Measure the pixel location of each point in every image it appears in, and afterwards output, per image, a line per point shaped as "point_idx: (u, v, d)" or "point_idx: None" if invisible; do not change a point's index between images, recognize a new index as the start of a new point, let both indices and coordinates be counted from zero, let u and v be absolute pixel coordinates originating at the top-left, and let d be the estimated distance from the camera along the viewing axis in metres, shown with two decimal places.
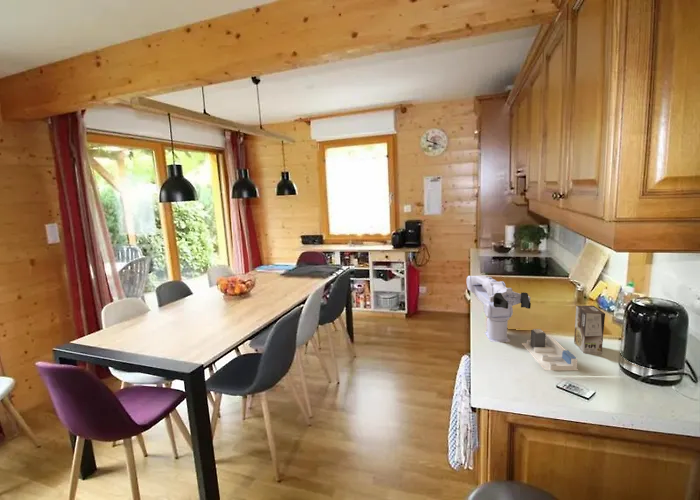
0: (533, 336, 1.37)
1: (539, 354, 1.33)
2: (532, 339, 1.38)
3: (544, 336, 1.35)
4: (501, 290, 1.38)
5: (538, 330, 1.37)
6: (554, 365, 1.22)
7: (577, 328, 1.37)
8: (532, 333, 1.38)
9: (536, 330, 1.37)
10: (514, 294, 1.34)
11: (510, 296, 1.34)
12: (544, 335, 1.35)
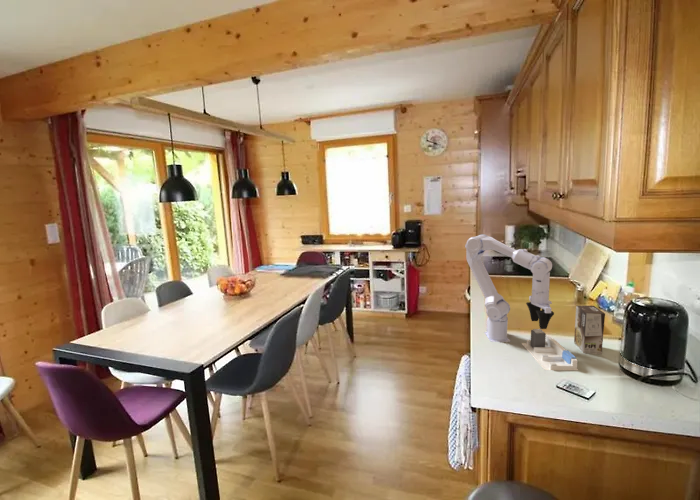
0: (533, 336, 1.37)
1: (539, 354, 1.33)
2: (532, 339, 1.38)
3: (544, 336, 1.35)
4: (548, 296, 1.33)
5: (538, 330, 1.37)
6: (554, 365, 1.22)
7: (577, 328, 1.37)
8: (532, 333, 1.38)
9: (536, 330, 1.37)
10: None
11: None
12: (544, 335, 1.35)
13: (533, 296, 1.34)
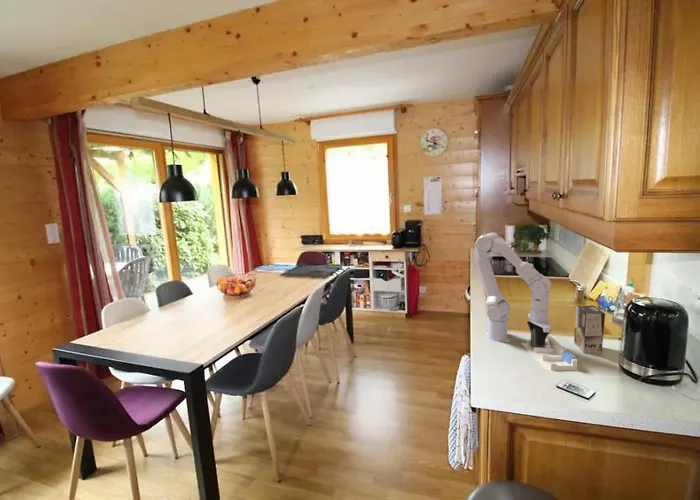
0: (533, 336, 1.37)
1: (539, 354, 1.33)
2: (532, 339, 1.38)
3: None
4: (547, 314, 1.34)
5: None
6: (554, 365, 1.22)
7: (577, 328, 1.37)
8: (532, 333, 1.38)
9: None
10: None
11: None
12: None
13: (532, 314, 1.35)
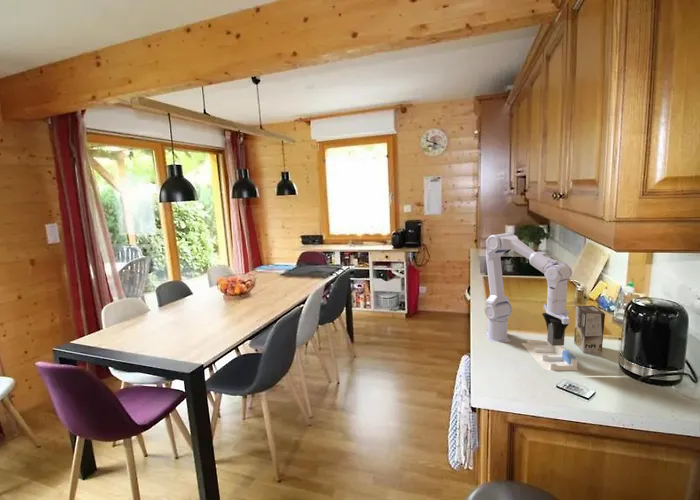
0: (551, 331, 1.24)
1: (539, 354, 1.33)
2: (550, 334, 1.25)
3: None
4: (565, 305, 1.21)
5: None
6: (554, 365, 1.22)
7: (577, 328, 1.37)
8: (550, 327, 1.25)
9: None
10: None
11: None
12: None
13: (549, 305, 1.23)
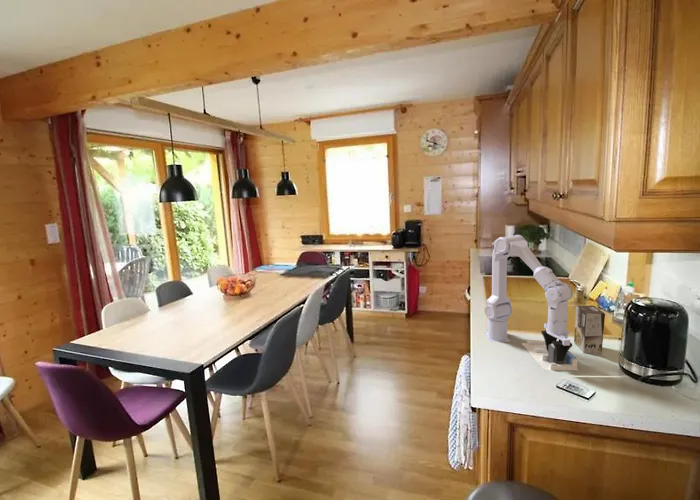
0: (551, 352, 1.25)
1: (539, 354, 1.33)
2: (550, 355, 1.26)
3: None
4: (566, 325, 1.21)
5: None
6: (554, 365, 1.22)
7: (577, 328, 1.37)
8: (550, 348, 1.25)
9: None
10: None
11: None
12: None
13: (549, 325, 1.23)
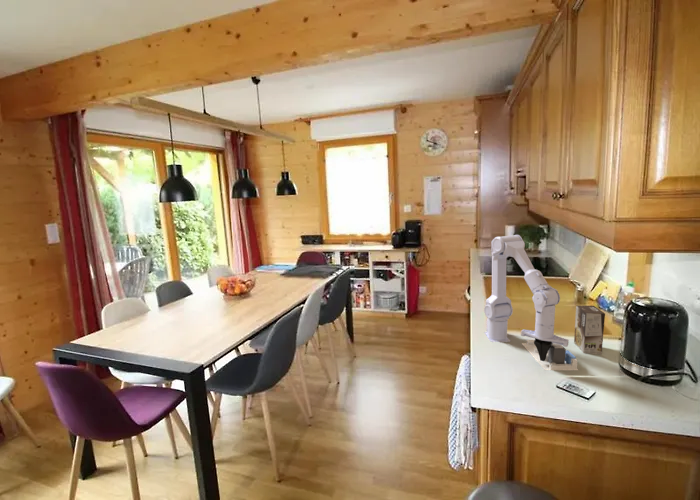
0: (551, 351, 1.25)
1: None
2: (550, 354, 1.26)
3: (564, 352, 1.23)
4: None
5: (557, 345, 1.24)
6: (554, 365, 1.22)
7: (577, 328, 1.37)
8: (550, 348, 1.25)
9: (555, 345, 1.25)
10: None
11: None
12: (564, 351, 1.23)
13: (544, 331, 1.21)
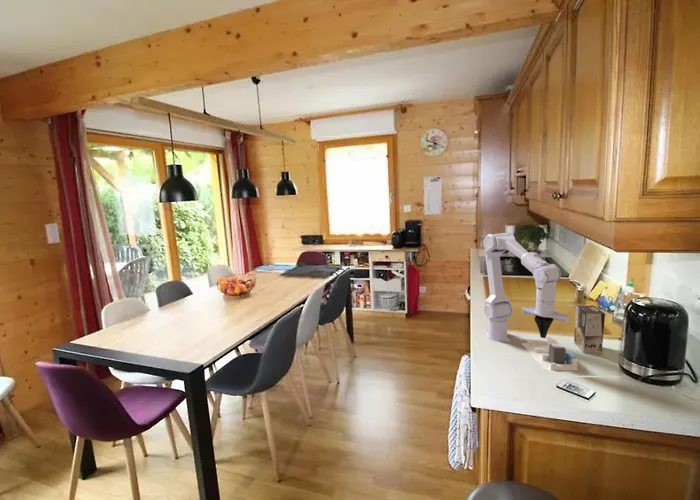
0: (552, 352, 1.25)
1: (539, 354, 1.33)
2: (550, 354, 1.26)
3: (564, 352, 1.23)
4: None
5: (557, 345, 1.25)
6: (554, 365, 1.22)
7: (577, 328, 1.37)
8: (550, 348, 1.25)
9: (555, 345, 1.25)
10: None
11: None
12: (564, 350, 1.23)
13: (545, 308, 1.21)
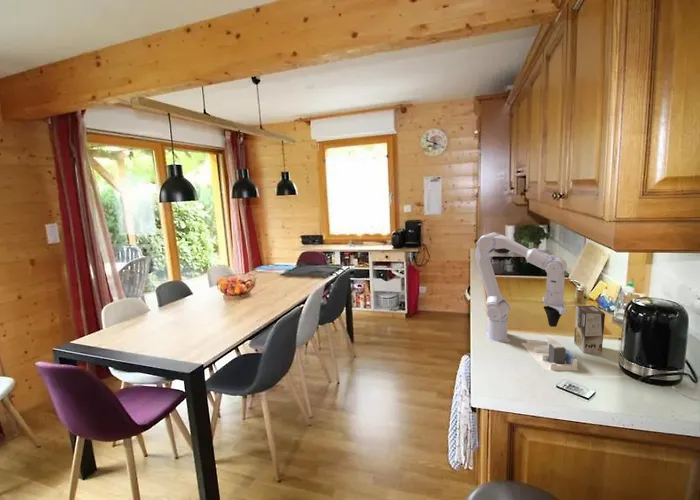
0: (552, 352, 1.25)
1: (539, 354, 1.33)
2: (550, 354, 1.26)
3: (564, 352, 1.23)
4: None
5: (557, 345, 1.25)
6: (554, 365, 1.22)
7: (577, 328, 1.37)
8: (550, 348, 1.25)
9: (555, 345, 1.25)
10: None
11: None
12: (564, 350, 1.23)
13: (547, 297, 1.31)
